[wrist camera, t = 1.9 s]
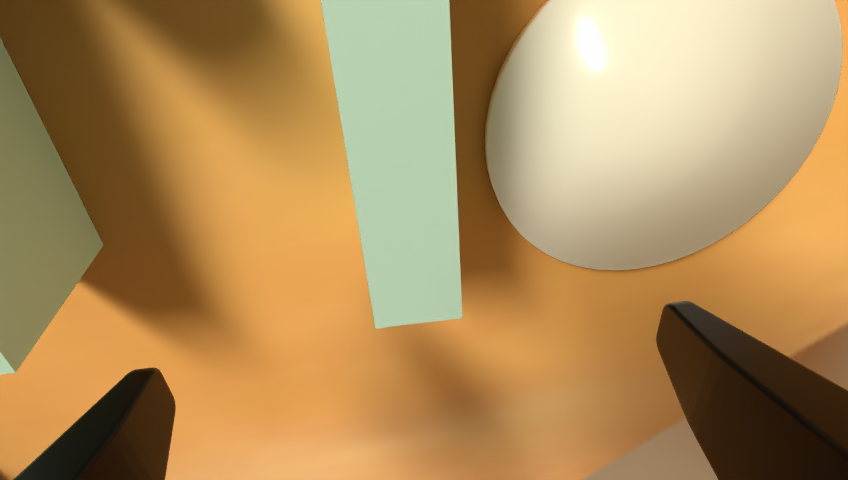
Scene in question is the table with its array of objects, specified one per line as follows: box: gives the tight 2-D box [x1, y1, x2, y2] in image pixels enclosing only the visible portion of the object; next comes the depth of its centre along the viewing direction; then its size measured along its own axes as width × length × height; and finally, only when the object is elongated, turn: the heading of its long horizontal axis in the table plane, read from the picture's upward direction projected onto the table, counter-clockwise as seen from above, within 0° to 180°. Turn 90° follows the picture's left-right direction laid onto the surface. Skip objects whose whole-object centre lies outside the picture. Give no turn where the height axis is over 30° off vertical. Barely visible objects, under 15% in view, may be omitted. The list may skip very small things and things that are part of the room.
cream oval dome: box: [485, 0, 843, 270], centre depth 15 cm, size 10×10×1 cm
